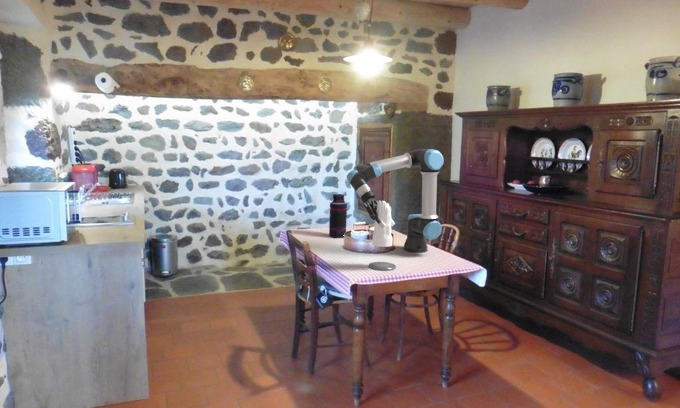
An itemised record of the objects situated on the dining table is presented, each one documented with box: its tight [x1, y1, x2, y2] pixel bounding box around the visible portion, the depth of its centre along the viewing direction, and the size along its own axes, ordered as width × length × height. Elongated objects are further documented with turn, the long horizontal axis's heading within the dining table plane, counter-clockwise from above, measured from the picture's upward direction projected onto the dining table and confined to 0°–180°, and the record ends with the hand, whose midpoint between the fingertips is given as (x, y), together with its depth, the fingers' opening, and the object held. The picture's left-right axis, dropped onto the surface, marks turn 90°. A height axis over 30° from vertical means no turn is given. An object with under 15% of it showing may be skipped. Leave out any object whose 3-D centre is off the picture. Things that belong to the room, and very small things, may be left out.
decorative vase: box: [371, 199, 393, 248], centre depth 266 cm, size 11×11×25 cm
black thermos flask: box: [328, 193, 348, 239], centre depth 341 cm, size 14×12×30 cm
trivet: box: [368, 261, 397, 272], centre depth 269 cm, size 15×15×1 cm
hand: (388, 226), depth 264 cm, fingers closed on decorative vase, 9 cm apart
